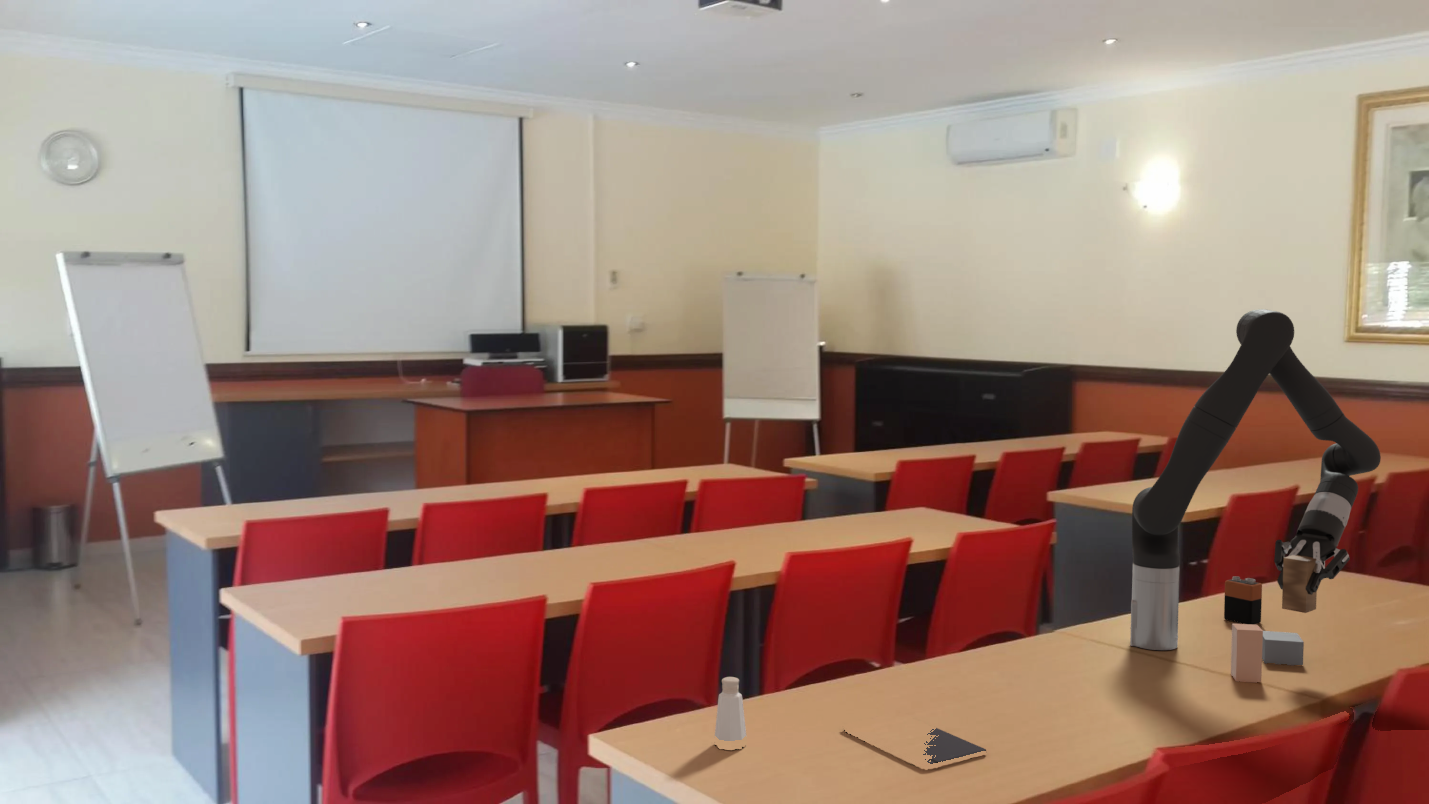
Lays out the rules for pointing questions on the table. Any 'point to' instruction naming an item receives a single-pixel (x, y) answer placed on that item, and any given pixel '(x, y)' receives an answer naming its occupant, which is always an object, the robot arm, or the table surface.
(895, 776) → the table surface
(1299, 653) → the slate gray block
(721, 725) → the pepper shaker
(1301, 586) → the walnut block
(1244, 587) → the battery
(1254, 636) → the pale pink block
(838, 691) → the table surface
